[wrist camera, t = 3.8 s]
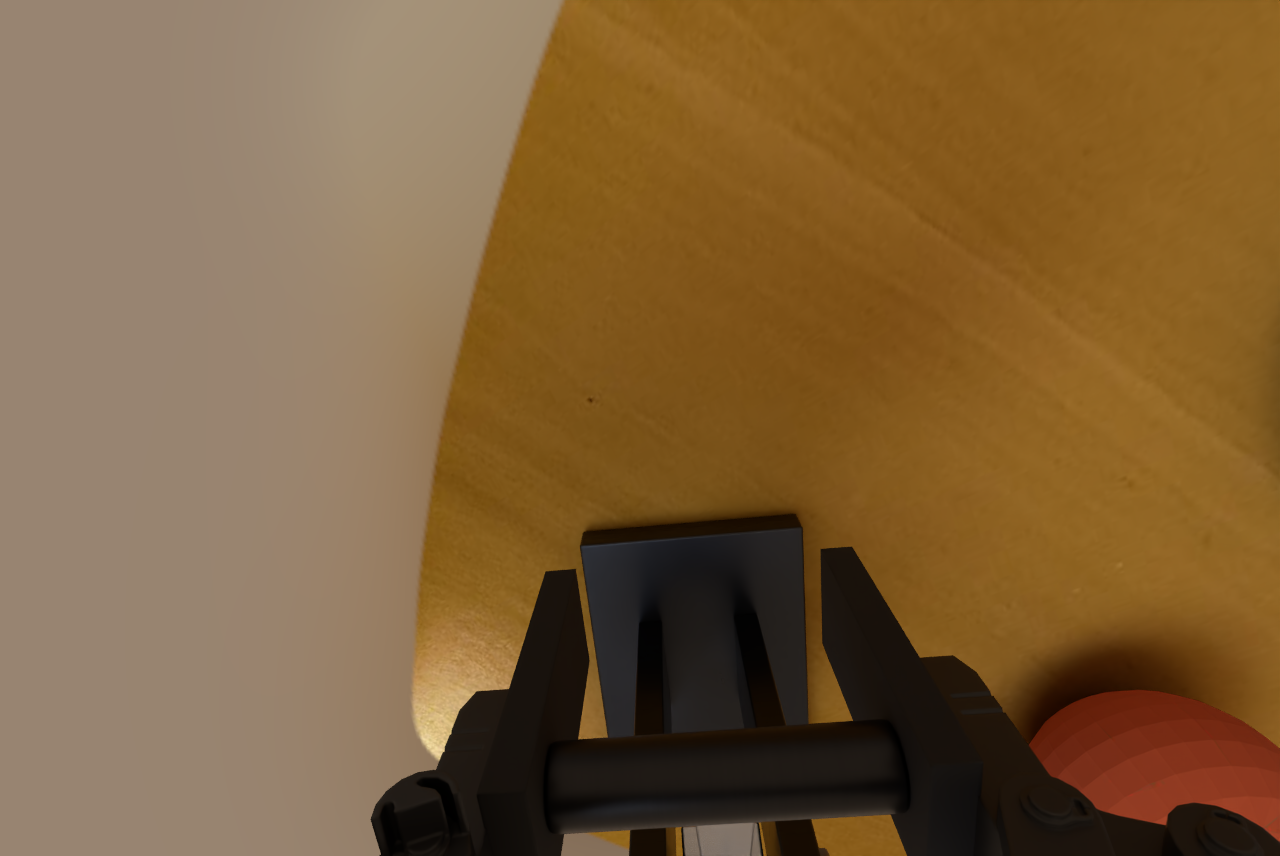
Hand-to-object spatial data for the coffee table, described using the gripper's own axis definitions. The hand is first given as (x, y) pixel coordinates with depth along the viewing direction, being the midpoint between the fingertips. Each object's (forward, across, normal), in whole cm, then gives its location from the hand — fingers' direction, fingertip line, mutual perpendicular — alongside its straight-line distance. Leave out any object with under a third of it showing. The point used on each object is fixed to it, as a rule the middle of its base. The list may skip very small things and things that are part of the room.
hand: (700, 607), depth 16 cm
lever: (-2, 0, -4) cm, 4 cm away
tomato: (+11, +18, -15) cm, 26 cm away
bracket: (+11, 0, -9) cm, 14 cm away
